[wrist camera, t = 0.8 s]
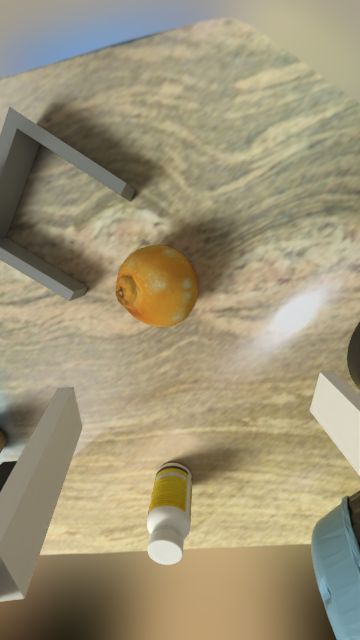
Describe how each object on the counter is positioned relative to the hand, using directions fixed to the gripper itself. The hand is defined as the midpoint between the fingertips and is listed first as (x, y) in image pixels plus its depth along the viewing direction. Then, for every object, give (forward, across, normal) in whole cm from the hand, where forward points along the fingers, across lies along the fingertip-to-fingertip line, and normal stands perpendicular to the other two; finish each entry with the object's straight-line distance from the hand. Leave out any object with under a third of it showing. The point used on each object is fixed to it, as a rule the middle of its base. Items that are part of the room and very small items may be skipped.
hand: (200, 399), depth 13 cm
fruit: (+18, +1, -2) cm, 19 cm away
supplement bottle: (+14, +1, +27) cm, 30 cm away
